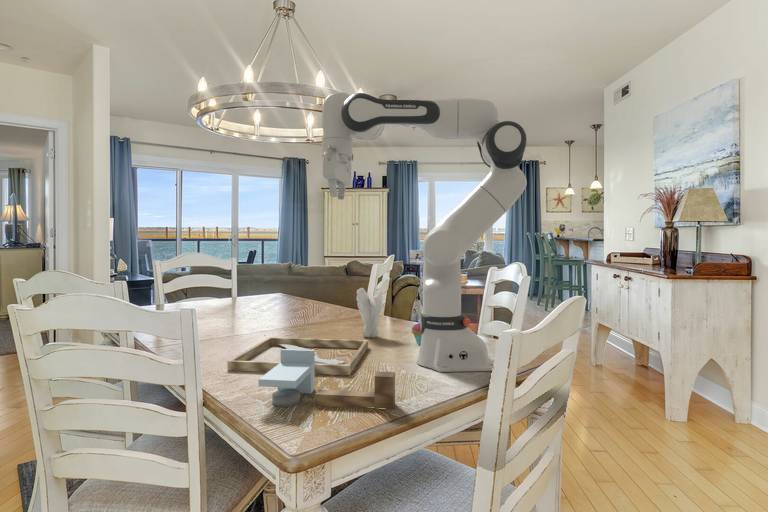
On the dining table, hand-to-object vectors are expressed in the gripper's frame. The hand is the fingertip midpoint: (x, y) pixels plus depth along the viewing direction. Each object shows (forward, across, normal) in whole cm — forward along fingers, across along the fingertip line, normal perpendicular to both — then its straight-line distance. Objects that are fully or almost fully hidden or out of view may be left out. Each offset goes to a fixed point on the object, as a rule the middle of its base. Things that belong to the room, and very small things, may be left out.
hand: (337, 198), depth 132 cm
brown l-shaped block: (+48, -35, -12) cm, 61 cm away
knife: (+49, 0, +10) cm, 50 cm away
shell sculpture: (+48, +32, -5) cm, 58 cm away
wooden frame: (+48, 0, +10) cm, 49 cm away
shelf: (+48, -34, +3) cm, 59 cm away
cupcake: (+48, +24, -25) cm, 59 cm away
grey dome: (+48, -36, +3) cm, 60 cm away
